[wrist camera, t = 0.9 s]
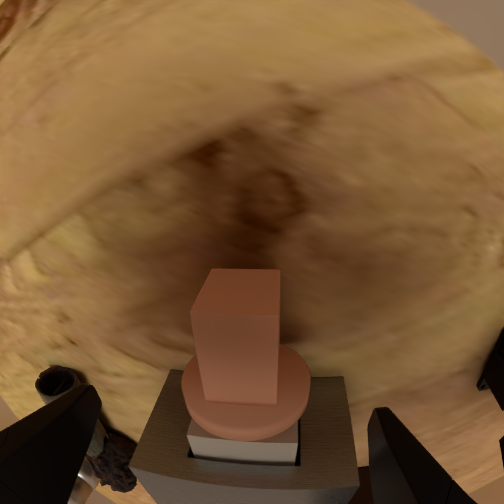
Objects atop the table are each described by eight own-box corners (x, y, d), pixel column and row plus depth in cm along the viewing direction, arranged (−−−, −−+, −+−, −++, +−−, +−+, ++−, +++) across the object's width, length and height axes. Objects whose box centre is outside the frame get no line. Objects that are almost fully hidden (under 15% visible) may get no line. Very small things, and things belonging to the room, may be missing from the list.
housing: (343, 376, 19) (359, 485, 11) (324, 450, 22) (327, 530, 15) (170, 369, 20) (128, 466, 12) (193, 443, 24) (171, 518, 16)
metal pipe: (49, 360, 23) (18, 398, 17) (103, 370, 22) (72, 417, 17) (114, 460, 29) (99, 493, 24) (160, 472, 28) (148, 508, 23)
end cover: (313, 258, 15) (328, 337, 9) (296, 434, 20) (295, 504, 15) (187, 257, 16) (136, 328, 10) (215, 430, 21) (200, 497, 15)
